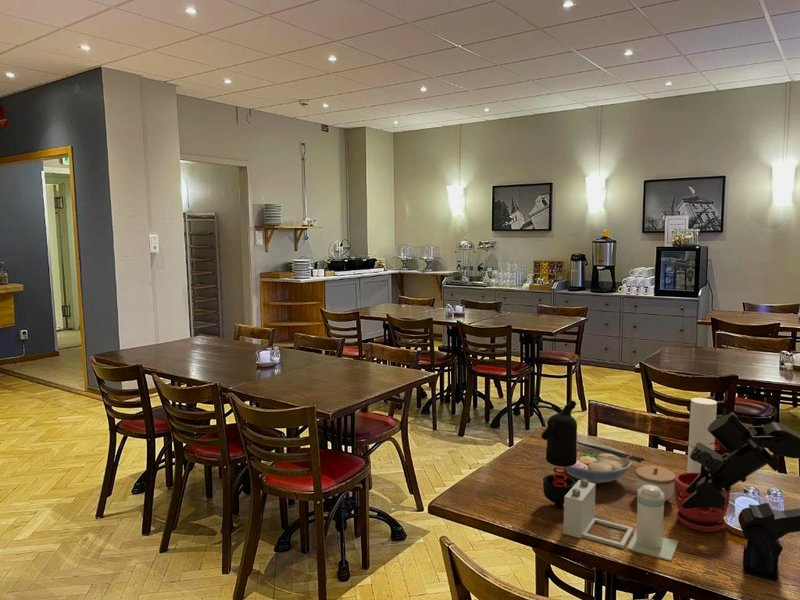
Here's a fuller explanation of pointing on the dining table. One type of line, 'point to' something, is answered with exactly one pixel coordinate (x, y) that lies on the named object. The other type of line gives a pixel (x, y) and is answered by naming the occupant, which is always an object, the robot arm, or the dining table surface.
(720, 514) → the plant pot
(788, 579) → the dining table surface
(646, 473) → the lidded jar
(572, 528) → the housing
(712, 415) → the cylindrical container
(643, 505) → the cartridge
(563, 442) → the black spring figurine
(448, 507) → the dining table surface
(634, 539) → the mat
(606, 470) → the ramen bowl
